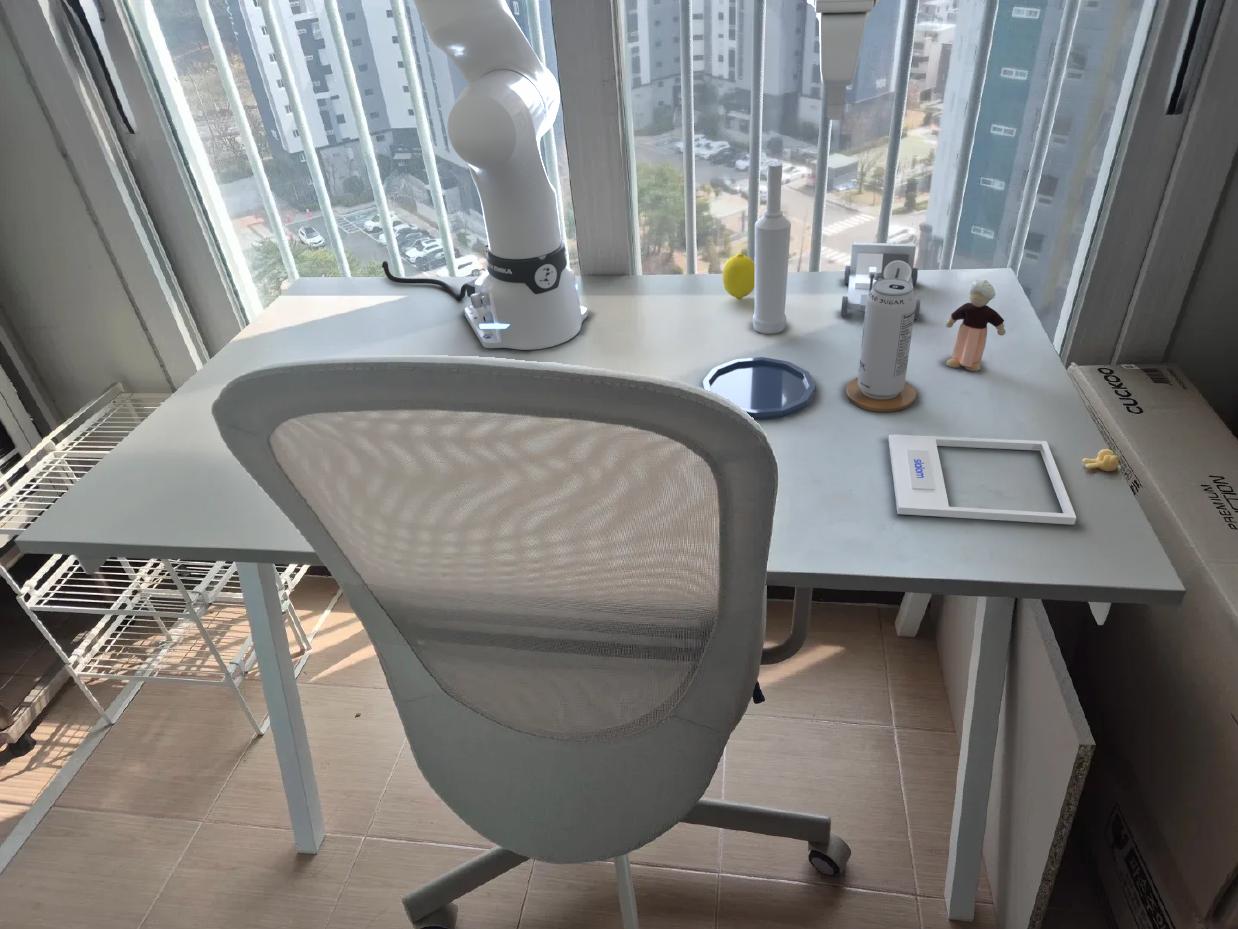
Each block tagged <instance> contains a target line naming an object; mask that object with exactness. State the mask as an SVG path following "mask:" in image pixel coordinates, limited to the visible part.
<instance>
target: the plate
mask: <svg viewBox="0 0 1238 929" xmlns="http://www.w3.org/2000/svg"><path fill="white" fill-rule="evenodd" d="M701 382H702V383H701V384H702V389H703V388H704V389H705V390H708V391H711V392H713V393H717V394H718V395H720V396H722V397H724V398H725V399H729V400H730V401H731V402H732V403H734V404H735V405H737V406H739V407H740V408H741V409H742V410H743V411H746V412H747V413H748V414H749V415H750V416H751V417H753V418H754V420H753V421H767V420H776V419H781V418H786V417H790V416H792V415H794V414H797V413H798V412H800V411H802V410H803V409H805V408H806V407H808V406H809V404H810V403H811V402H812V400H813V398H814V393H815V392H816V385H815V382H814V380H813V378H812V376H811V373H810V372H809V371H807V370H805V369H804V368H802V367H800V366H798V365H797V364H794V363H793V362H792V361H788V360H783V359H782V360H781V359H777V358H770V357H766V356H765V357H764V356H758V357H757V356H756V357H747V358H736V359H731V360H729V361H727V362H725V363H722V364H719V365H717V366H714V367H712V369H711V370H710V371H709V372H708V373H707V375H706V376H705V377H704V379H702V381H701Z"/></svg>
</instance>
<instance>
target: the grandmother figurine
mask: <svg viewBox="0 0 1238 929" xmlns="http://www.w3.org/2000/svg"><path fill="white" fill-rule="evenodd" d="M968 289H969V290H968V292H969V302H966V303H964V304H963V305H961V306H959V307H958V308H956V309H955V310H954V311H953V312H952V313H951V314H950V316H949V318H948V320H947V321H946V322H945V324H944V325H945V327H946V328H948V329H950V328H952V327H953V326H954V324H956V322H957V321H960V320H962V321H961V324H960V325H959V328H958V331H957V334H956V339H955V342H954V345H953V351H952V354H951V358H949V359H947V361H946V366H947V367H949V368H955V369H957V368H960V367H962V366H963V367H964V368H965V370H968V371H970V372H971V371H972V372H978V371H980V370H981V362H982V358H983V355H984V351H985V347H986V344H987V343H986V342H987V338H988V324H990V325H991V326H993V327H995V329H996V330H997V331H996V332H997V335H999V336H1004V335H1005V334H1006V332H1007V331H1006V329H1005V325H1004V322H1005V319H1004V317H1002V316H1001V315H1000V313H998V311H996V310H995V309H994V308H992V307H990V306H989V305H988V303H989V302H990V301H992V300H993V299H994V298H995V296H997V294H996V290H995V288H994V286H993V284H991V283H990V282H989V281H988V280H986V279H978V280H975V281H973V282H972V283H971V284H970V285H969V288H968Z"/></svg>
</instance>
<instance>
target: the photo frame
mask: <svg viewBox="0 0 1238 929" xmlns="http://www.w3.org/2000/svg"><path fill="white" fill-rule="evenodd" d="M939 446H940V447H957V448H979V449H999V450H1000V449H1001V450H1003V449H1004V450H1021V451H1039V452H1040V454H1041V457H1042V460H1043V462H1044V465H1045V467H1046V470H1047V473H1048V476H1049V478H1050V481H1051V485H1052V487H1053V489H1054V492H1055V495H1056V497H1057V500H1058V503H1059V505H1060V508H1061V511H1062V512H1061V513H1059V512H1047V511H1045V512H1044V511H1030V510H1029V511H1027V510H1014V509H1013V510H1010V509H993V508H977V507H976V508H975V507H962V506H961V507H959V506H950V505H949V499H948V495H947V489H946V485H945V480H944V474H943V470H942V469H943V468H942V464H941V460H940V459H941V458H940V455H939V450H938V447H939ZM888 447H889V448H888V449H889V455H890V456H889V457H890V463H891V464H890V465H891V471H892V480H893V489H894V496H895V497H894V498H895V505H896V511H897V513H896V514H897V515H909V516H926V517H941V518H942V517H943V518H956V519H957V518H959V519H973V520H974V519H975V520H989V521H990V520H991V521H1005V522H1006V521H1008V522H1021V523H1023V522H1024V523H1040V524H1056V525H1071V526H1073V525H1075V524H1076V522H1077V516H1076V513H1075V511H1074V507H1073V505H1072V503H1071V500H1070V497H1069V495H1068V492H1067V490H1066V487H1065V485H1064V482H1063V480H1062V478H1061V474H1060V472H1059V469H1058V467H1057V464H1056V462H1055V459H1054V456H1053V454H1052V452H1051V449H1050V446H1049V444H1048V441H1047V440H1027V439H1026V440H1025V439H1004V438H1003V439H1002V438H983V437H982V438H980V437H958V436H957V437H956V436H933V435H911V434H889V435H888Z"/></svg>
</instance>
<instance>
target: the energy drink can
mask: <svg viewBox="0 0 1238 929" xmlns="http://www.w3.org/2000/svg"><path fill="white" fill-rule="evenodd" d="M916 299H917V296H916V295H915V292H914V286H913V285H912V284H911V283H910V282H909V281H906V280H903V279H898V278H885V279H880V280H877V281H875V282H874V283H873V288H872V289H871V291H870V292H869V293H868V295H867V298H866V307H865V311H864V318H863V319H864V320H863V326H862V327H863V328H862V336H861V345H860V355H859V363H858V364H859V365H858V373H857V378H858V383H857V384H858V386H859V387H860V389H861V391H862V393H863V394H864V395H866V396H867V397H870V398H873V399H879V400H886V399H891V398H894V397H896V396H897V395H898V394H899V392H900V391H902V390H903V388H904V385H905V381H906V377H907V376H906V375H907V370H908V363H909V356H910V350H911V342H912V337H913V336H912V335H913V330H914V329H913V327H914V322H915V319H914V315H915V308H916V301H917V300H916Z"/></svg>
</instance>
